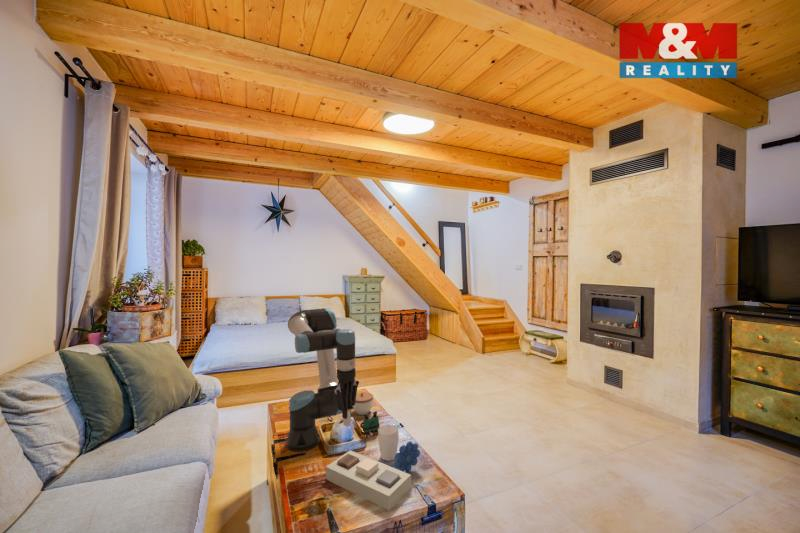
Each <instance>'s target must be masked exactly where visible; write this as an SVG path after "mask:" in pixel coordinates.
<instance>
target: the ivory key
mask: <svg viewBox="0 0 800 533" xmlns="http://www.w3.org/2000/svg"><path fill="white" fill-rule="evenodd" d="M377 471H378V463H377V462H375V461H372V460H370V459H367V458H366V459H364V460H363V461H362V462H360V463H359V464H358V465H356V473H357V474H359V475H362V476H364V477H366V478H368V479H369V478H370V477H371V476H372V475H374V474H375V473H376V472H377Z"/></svg>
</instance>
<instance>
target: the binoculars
mask: <svg viewBox="0 0 800 533" xmlns="http://www.w3.org/2000/svg"><path fill="white" fill-rule="evenodd" d="M377 414H378V412H377V411H373V412H372V416H371V417H369V416H370V415H369V413H367V414H364V415H363V416H364V417H363V420H362V422H361V423H360V425H359V427H360V428H361V430H362V429H363V431H364V432H365V433H364V436H365V435H366V436H367V437H366V438H369V437H368V436H370V437H371V432H373V435H375V436H378V435H377V434H378V429H379V428H380V427H381V426H380V422H379V420H380V419H379V418H380V417H379V415H377Z"/></svg>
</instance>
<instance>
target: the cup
mask: <svg viewBox="0 0 800 533" xmlns="http://www.w3.org/2000/svg"><path fill="white" fill-rule="evenodd" d="M399 436H400V435H399V427H397V426H396V425H393V424H385V425H381V426H379V429H378V435H377V438H378V439H377V440H378V445H379V446H378V447H379V451H380V458H381V459H382V460H384V461H388V462H390V461H395V455H396V454H397V453H398V446H399Z"/></svg>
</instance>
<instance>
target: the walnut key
mask: <svg viewBox="0 0 800 533" xmlns="http://www.w3.org/2000/svg"><path fill="white" fill-rule="evenodd" d="M357 463H359V458H357V457H355V456H352V455H350V454H347V455H345V456H344V457H342V458H341V459H339V460H338V465H339V466H341V467H344V468H346V469H348V470H349V469H350V468H352V467H353V466H355V465H356V464H357Z"/></svg>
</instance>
